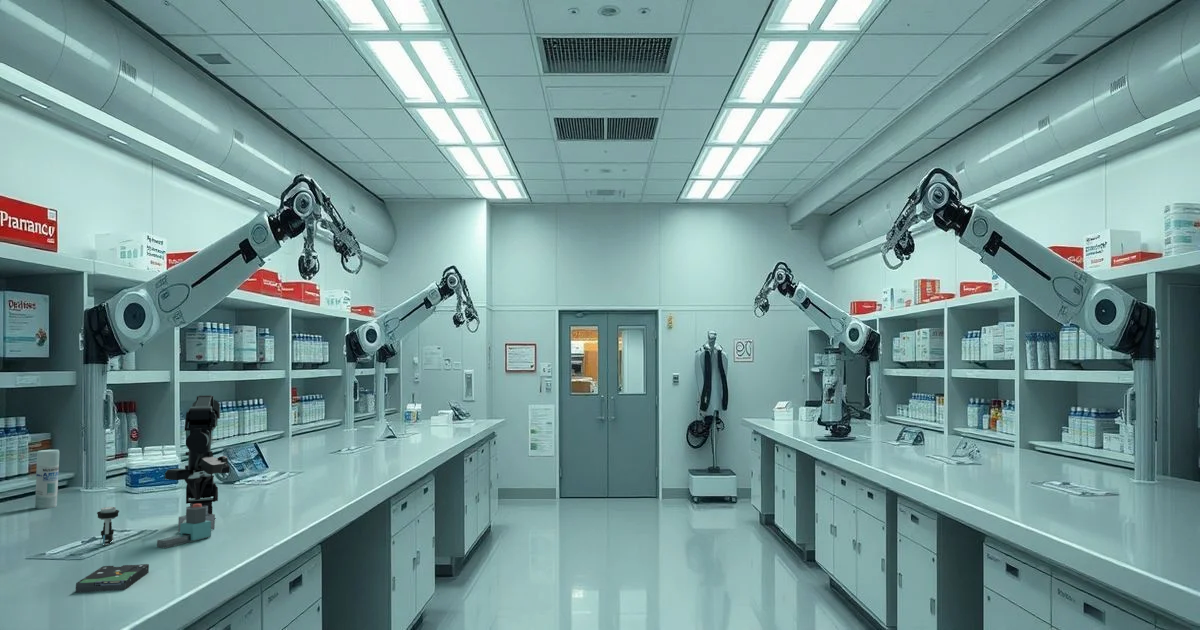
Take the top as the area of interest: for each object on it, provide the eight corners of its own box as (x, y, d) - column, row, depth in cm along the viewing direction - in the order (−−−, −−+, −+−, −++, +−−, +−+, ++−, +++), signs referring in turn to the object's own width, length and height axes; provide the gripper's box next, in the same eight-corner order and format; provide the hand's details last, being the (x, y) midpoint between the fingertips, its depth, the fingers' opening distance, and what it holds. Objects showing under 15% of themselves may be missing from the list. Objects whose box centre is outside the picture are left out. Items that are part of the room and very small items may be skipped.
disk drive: (101, 577, 184) (74, 595, 169) (102, 565, 184) (75, 582, 169) (149, 575, 186) (126, 592, 172) (149, 563, 186) (126, 579, 172)
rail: (164, 548, 210) (164, 540, 210) (156, 547, 211) (157, 539, 211) (210, 536, 224) (211, 530, 224) (203, 536, 225) (203, 529, 225)
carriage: (192, 540, 217) (193, 510, 218) (179, 539, 219) (180, 509, 220) (210, 536, 223) (211, 507, 223) (197, 534, 225) (198, 505, 225)
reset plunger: (190, 512, 232) (191, 504, 232) (197, 511, 234) (197, 503, 235) (196, 513, 231) (196, 505, 231) (203, 512, 234) (203, 503, 234)
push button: (116, 545, 213) (118, 509, 214) (94, 547, 211) (95, 511, 211) (118, 540, 219) (120, 505, 220) (96, 542, 217) (98, 507, 217)
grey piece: (177, 532, 230) (178, 507, 231) (198, 527, 237) (199, 503, 238) (193, 534, 228) (194, 509, 228) (214, 529, 234) (215, 505, 235)
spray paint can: (50, 504, 275) (52, 449, 276) (61, 506, 272) (63, 450, 273) (30, 507, 269) (33, 451, 270) (41, 509, 266) (44, 451, 268)
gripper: (191, 452, 222) (189, 506, 221) (243, 446, 240) (241, 496, 238) (164, 451, 227) (162, 504, 226) (217, 445, 244) (216, 494, 243)
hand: (197, 499), depth 233 cm, fingers closed
